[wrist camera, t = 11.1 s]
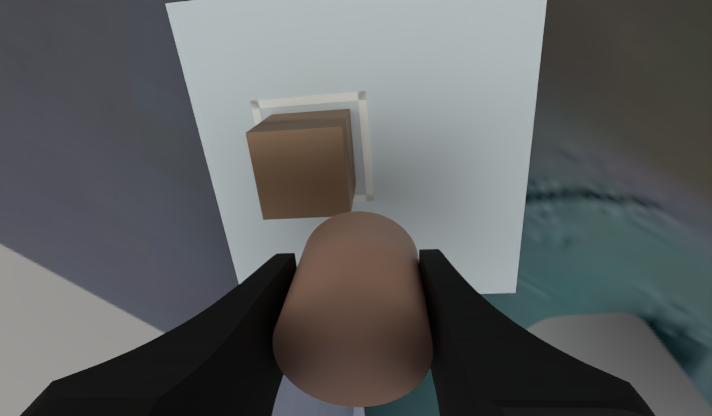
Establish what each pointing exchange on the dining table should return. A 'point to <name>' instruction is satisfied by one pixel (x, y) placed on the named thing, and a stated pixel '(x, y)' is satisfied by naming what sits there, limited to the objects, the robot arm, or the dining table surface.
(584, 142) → the dining table surface
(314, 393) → the terracotta cylinder
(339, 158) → the walnut cube
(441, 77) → the pale gray board
